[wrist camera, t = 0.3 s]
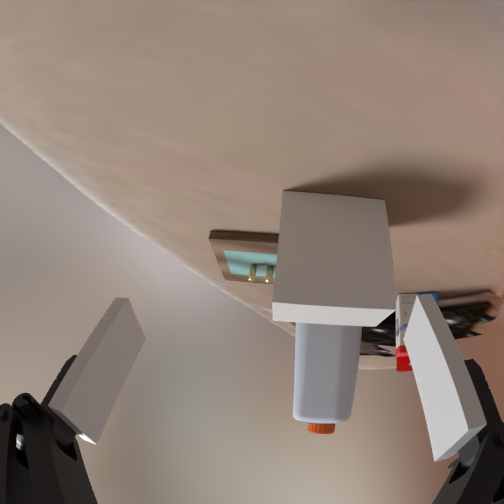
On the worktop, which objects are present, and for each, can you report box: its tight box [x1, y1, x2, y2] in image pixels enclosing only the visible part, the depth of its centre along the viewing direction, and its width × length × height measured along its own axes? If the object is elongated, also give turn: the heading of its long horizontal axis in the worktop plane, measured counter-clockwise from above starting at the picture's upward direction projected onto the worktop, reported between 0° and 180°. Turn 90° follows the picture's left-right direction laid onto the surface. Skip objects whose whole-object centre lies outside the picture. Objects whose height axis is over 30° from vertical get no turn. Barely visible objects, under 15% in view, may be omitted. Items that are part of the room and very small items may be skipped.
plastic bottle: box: [293, 322, 362, 434], centre depth 62 cm, size 15×15×28 cm
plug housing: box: [272, 191, 396, 326], centre depth 29 cm, size 6×11×12 cm, turn 94°
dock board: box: [209, 231, 279, 284], centre depth 44 cm, size 14×16×1 cm
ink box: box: [396, 292, 438, 372], centre depth 48 cm, size 8×5×15 cm, turn 108°
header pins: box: [248, 264, 274, 283], centre depth 43 cm, size 1×6×2 cm, turn 95°
